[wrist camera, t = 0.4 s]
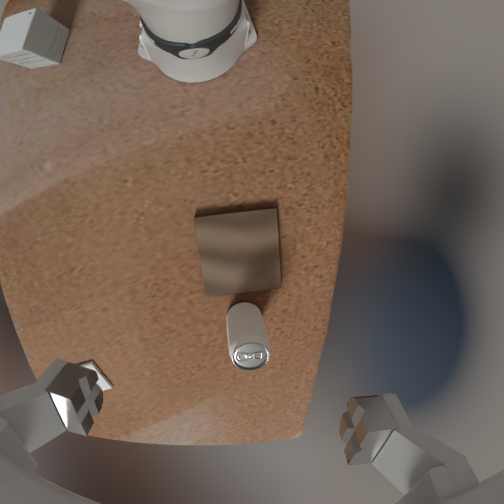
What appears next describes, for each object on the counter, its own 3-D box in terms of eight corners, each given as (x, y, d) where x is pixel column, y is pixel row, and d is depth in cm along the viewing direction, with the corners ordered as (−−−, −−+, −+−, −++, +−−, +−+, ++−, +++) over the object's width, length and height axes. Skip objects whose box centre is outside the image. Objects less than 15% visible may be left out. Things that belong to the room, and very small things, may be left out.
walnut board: (194, 216, 46) (194, 217, 45) (275, 207, 47) (276, 208, 46) (206, 294, 51) (206, 297, 50) (279, 284, 52) (281, 287, 51)
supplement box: (40, 34, 30) (5, 16, 18) (71, 29, 32) (38, 6, 20) (30, 69, 33) (-10, 57, 21) (60, 65, 34) (21, 49, 22)
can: (225, 301, 52) (228, 342, 41) (261, 300, 53) (273, 339, 41) (226, 331, 54) (230, 374, 43) (260, 329, 55) (271, 371, 44)
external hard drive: (59, 369, 54) (93, 359, 54) (79, 392, 57) (114, 384, 57) (56, 373, 53) (91, 363, 53) (77, 396, 56) (112, 389, 56)
